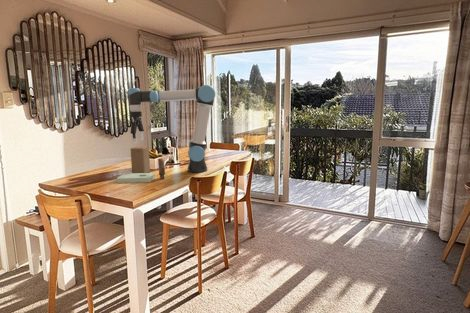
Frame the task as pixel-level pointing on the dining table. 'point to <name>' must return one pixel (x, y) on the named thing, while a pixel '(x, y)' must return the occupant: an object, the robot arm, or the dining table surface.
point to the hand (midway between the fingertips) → (138, 141)
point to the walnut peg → (161, 168)
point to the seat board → (135, 177)
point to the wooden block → (140, 159)
